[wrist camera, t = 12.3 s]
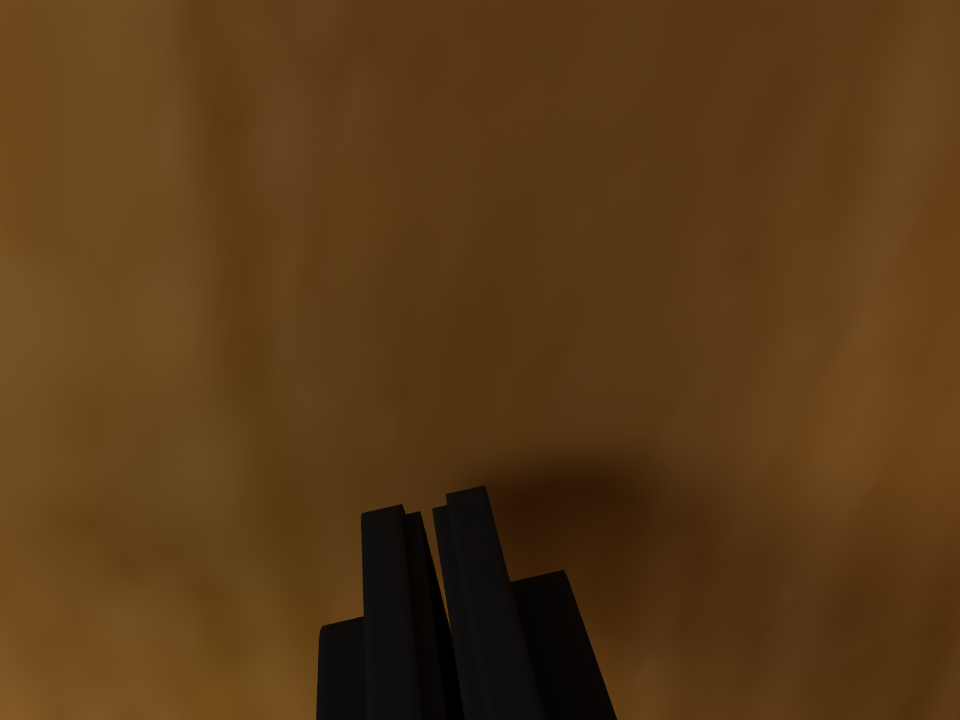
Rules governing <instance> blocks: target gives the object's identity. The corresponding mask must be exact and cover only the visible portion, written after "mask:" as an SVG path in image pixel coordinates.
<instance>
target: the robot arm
mask: <svg viewBox="0 0 960 720" xmlns="http://www.w3.org/2000/svg"><path fill="white" fill-rule="evenodd" d="M446 499H447V504H448V505H445V506H441V507H436V508H432V510H433V517H434V524H435V530H436V537H437V543H438V550H439V556H440V563H441V569H442V576H443V582H444V589H445V595H446V601H447V608H448V614H449V621H450V627H451V631H450V627H449V623H448V619H447V615H446V611H445V607H444V603H443V599H442V595H441V591H440V587H439V583H438V579H437V575H436V571H435V567H434V563H433V560H432V556H431V552H430V548H429V544H428V540H427V536H426V532H425V528H424V524H423V520H422V516H421V513H420V511H419V512H414V513H410V514H405V511H404V508H403V505H402V504H400V505H396V506H391V507H387V508H383V509H378V510H374V511H369V512H365V513H362V515H361V533H362V567H363V601H364V616H363V617H359V618H355V619H351V620H346V621H342V622H338V623H333V624H329V625H325V626H322V628H321V630H320V636H319V655H318V684H317V712H316V720H617V718H616V715H615V712H614V709H613V706H612V704H611V701H610V698H609V695H608V692H607V689H606V686H605V683H604V681H603V678H602V675H601V672H600V669H599V666H598V663H597V661H596V658H595V655H594V652H593V649H592V646H591V643H590V641H589V638H588V635H587V632H586V629H585V626H584V623H583V620H582V618H581V615H580V612H579V609H578V606H577V603H576V600H575V598H574V595H573V592H572V589H571V586H570V583H569V581H568V578H567V575H566V573H565V572H564V570H561V571H556V572H552V573H548V574H544V575H539V576H535V577H531V578H526V579H522V580H518V581H514V582H510V580H509V576H508V572H507V568H506V564H505V560H504V557H503V553H502V549H501V545H500V541H499V537H498V533H497V529H496V525H495V522H494V518H493V514H492V510H491V506H490V502H489V498H488V494H487V491H486V487H485V485H484V486H479V487H475V488H471V489H466V490H462V491H457V492H453V493H449V494H446Z"/></svg>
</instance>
